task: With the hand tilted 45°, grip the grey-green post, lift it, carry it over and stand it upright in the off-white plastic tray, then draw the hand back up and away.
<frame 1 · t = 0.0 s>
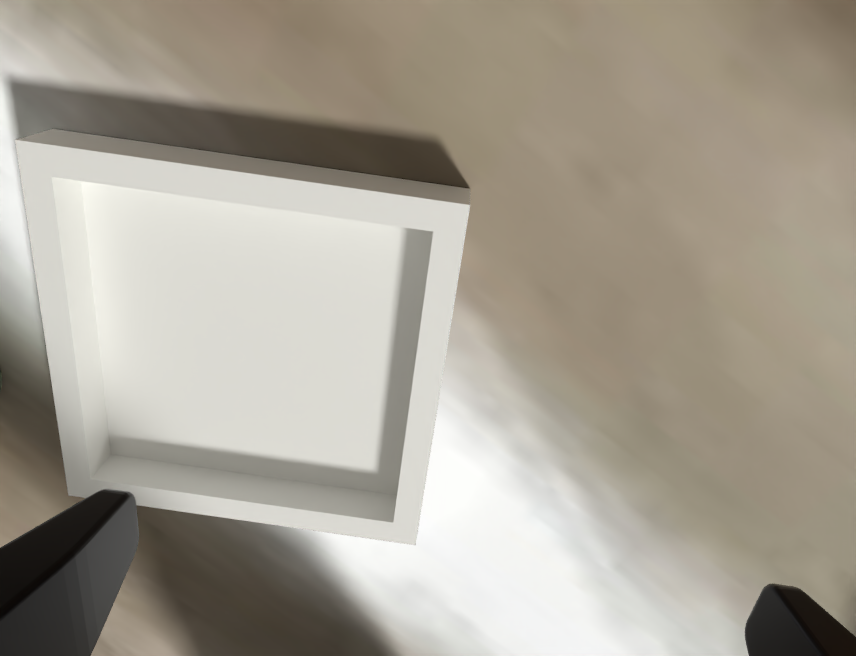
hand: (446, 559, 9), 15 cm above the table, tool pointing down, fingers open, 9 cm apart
tray: (258, 343, 25), on the table
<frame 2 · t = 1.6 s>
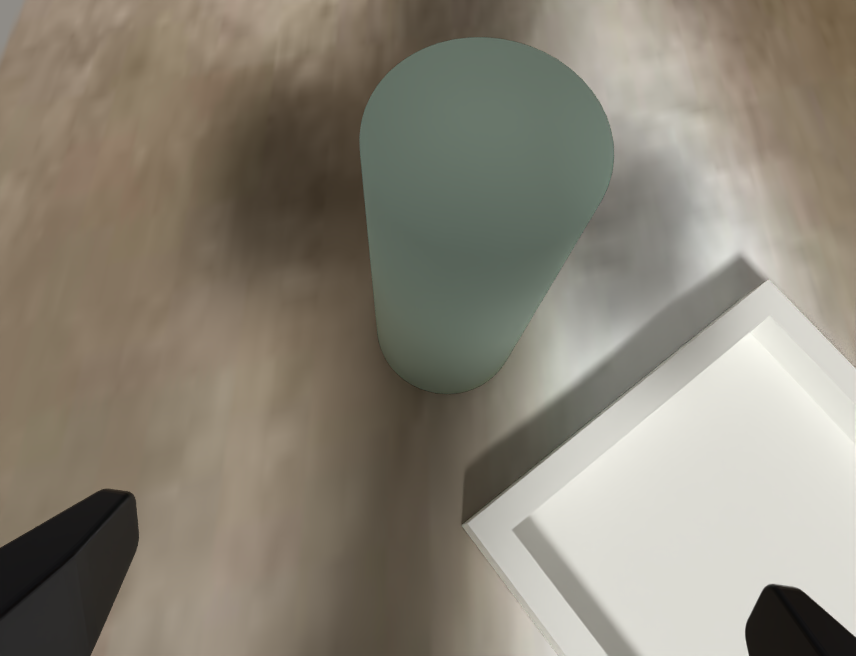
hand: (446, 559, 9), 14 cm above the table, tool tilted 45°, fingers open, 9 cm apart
tray: (746, 565, 22), on the table
grey-green post: (445, 326, 25), on the table
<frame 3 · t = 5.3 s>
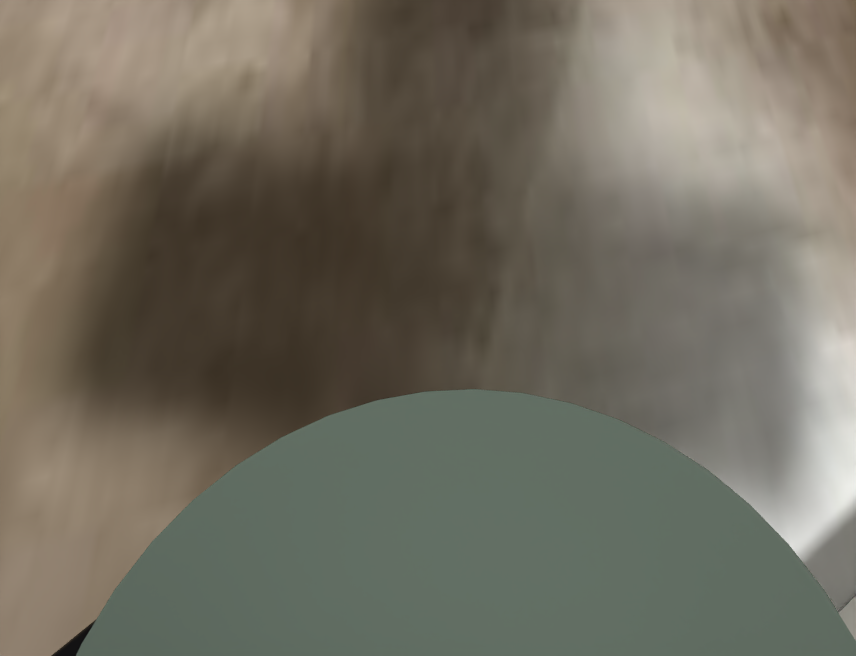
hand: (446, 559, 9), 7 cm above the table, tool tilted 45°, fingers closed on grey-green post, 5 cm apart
grey-green post: (418, 617, 15), on the table, touching gripper
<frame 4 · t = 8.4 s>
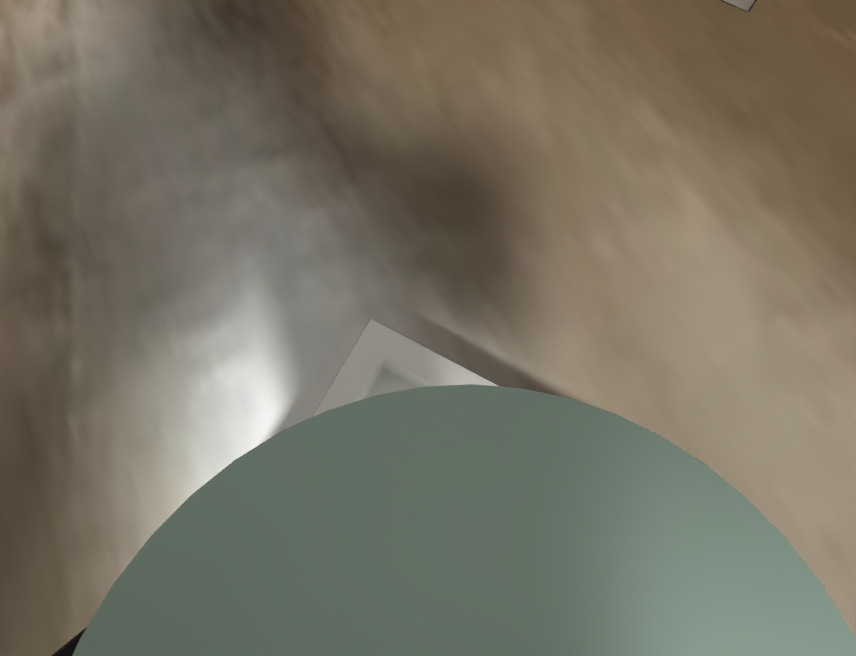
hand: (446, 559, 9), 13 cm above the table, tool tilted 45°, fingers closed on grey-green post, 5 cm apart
tray: (453, 612, 21), on the table
grey-green post: (417, 615, 15), point 7 cm above the table, touching gripper
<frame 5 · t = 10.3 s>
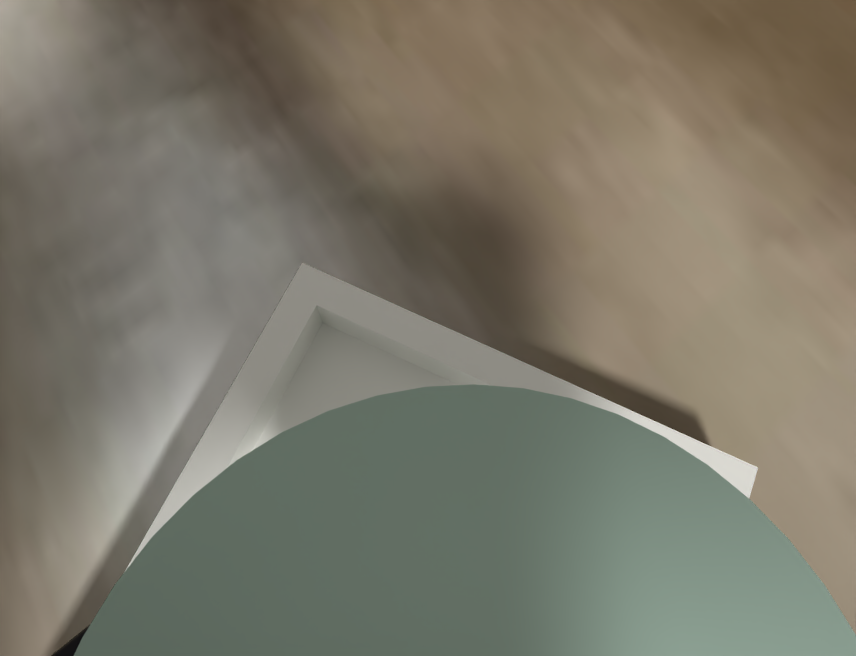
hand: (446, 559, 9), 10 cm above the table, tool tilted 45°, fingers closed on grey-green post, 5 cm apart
tray: (415, 598, 18), on the table
grey-green post: (418, 615, 15), point 3 cm above the table, touching gripper
when the fingers open (8 cm above the table, at t = 12.0 s): grey-green post stays where it is, resting on tray.
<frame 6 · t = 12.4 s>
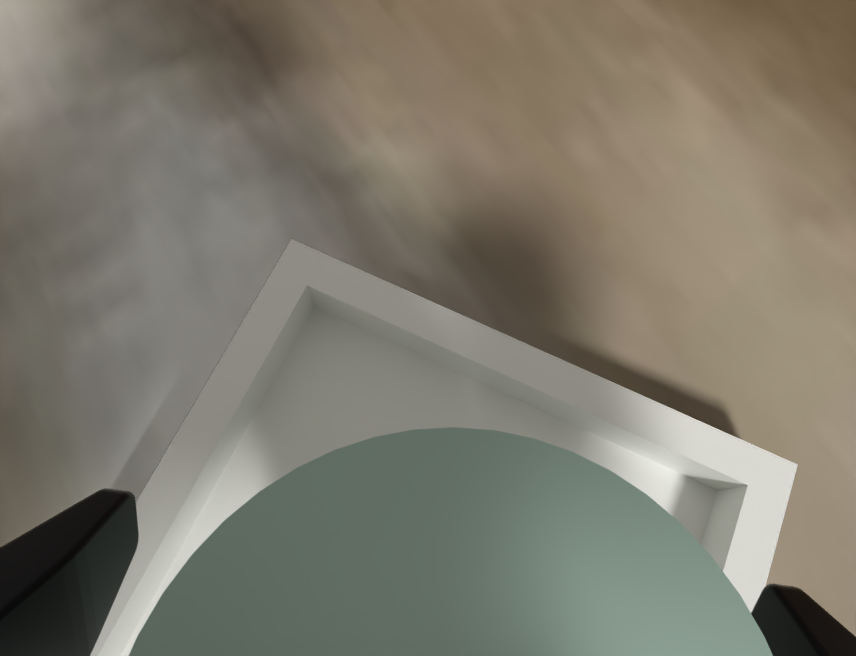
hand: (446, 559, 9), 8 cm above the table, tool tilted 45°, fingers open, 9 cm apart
tray: (416, 610, 16), on the table
grey-green post: (415, 615, 16), resting on tray
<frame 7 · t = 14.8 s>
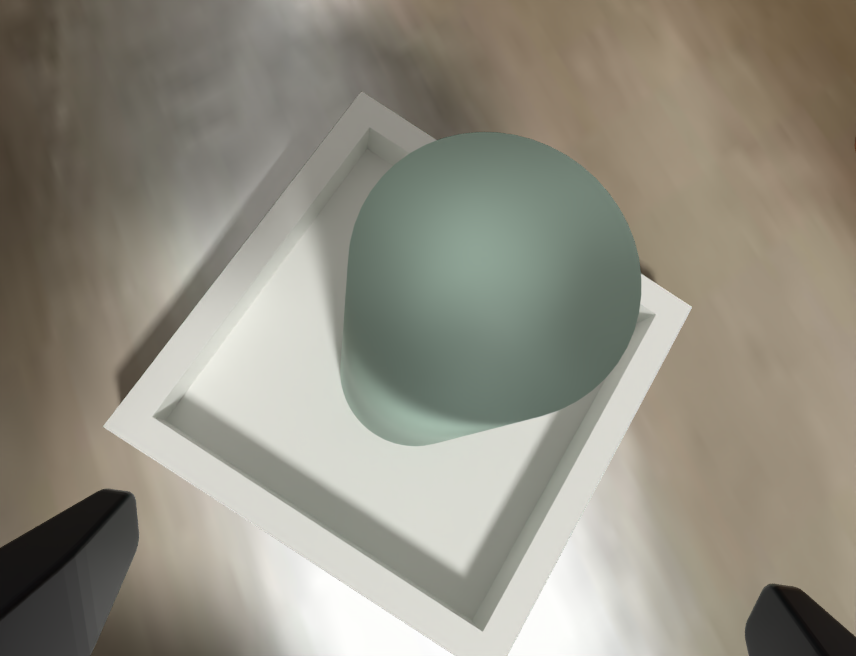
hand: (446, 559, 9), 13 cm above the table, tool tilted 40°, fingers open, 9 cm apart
tray: (414, 370, 23), on the table
grey-green post: (415, 370, 23), resting on tray
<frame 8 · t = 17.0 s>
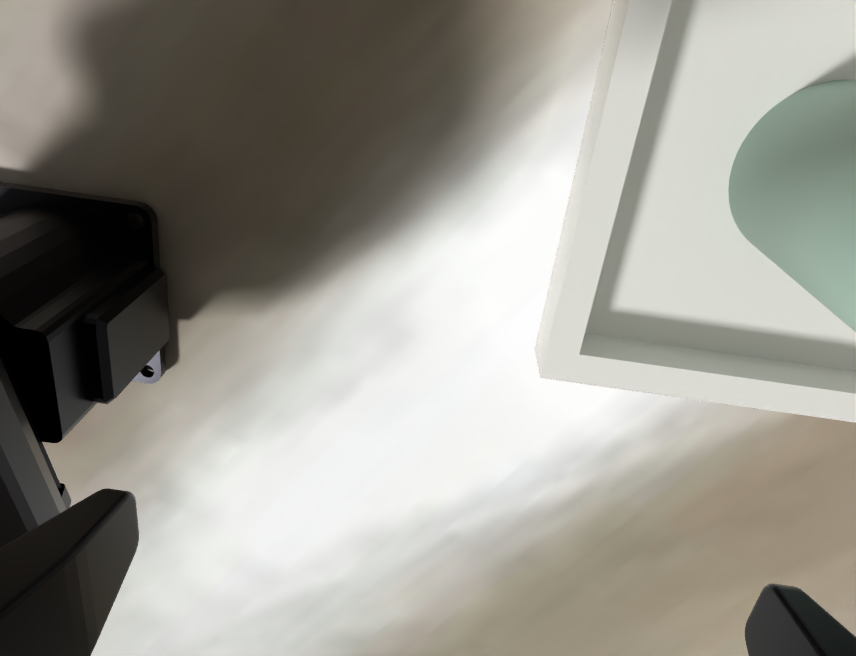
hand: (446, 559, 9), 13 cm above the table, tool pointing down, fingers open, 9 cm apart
tray: (818, 172, 19), on the table
grey-green post: (822, 175, 19), resting on tray
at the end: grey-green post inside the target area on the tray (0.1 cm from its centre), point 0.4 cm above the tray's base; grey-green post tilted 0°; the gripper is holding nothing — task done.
